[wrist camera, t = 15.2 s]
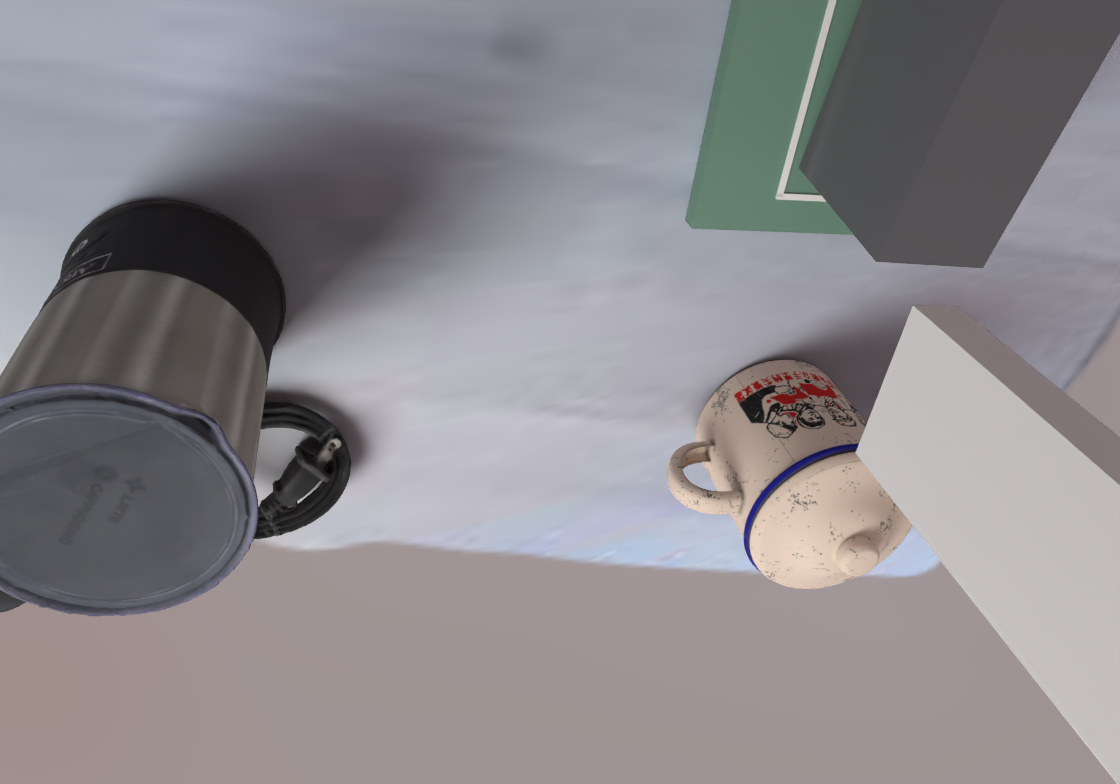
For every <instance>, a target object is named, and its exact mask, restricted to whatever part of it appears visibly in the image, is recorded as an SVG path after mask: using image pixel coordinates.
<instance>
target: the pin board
mask: <svg viewBox="0 0 1120 784" xmlns="http://www.w3.org/2000/svg"><path fill="white" fill-rule="evenodd" d="M862 1H863V0H732V3H731V8H730V12H729V17H728V22H727V26H726V31H725V36H724V41H723V45H722V50H721V55H720V59H719V64H718V69H717V74H716V78H715V83H714V88H713V92H712V97H711V102H710V106H709V111H708V116H707V121H706V125H705V130H704V135H703V139H702V144H701V149H700V154H699V158H698V163H697V168H696V172H695V177H694V182H693V186H692V191H691V196H690V201H689V205H688V210H687V215H686V219H685V220H686V222H687V223H688V224H689V225H690V227H691V228H694V229H720V230H746V231H773V232H799V233H825V234H851V235H854V234H853V233H852V232H851V231H850V229H849V228H848V227H847V226H846V225H845V223H844V222H843V221H842V220H841V219H840V217H839V216H838V215H837V214H836V213H835V211H834V210H833V209H832V208H831V206H830V205H829V204H828V203H827V202H826V200H825V199H824V198H823V197H822V196H821V194H820V193H819V192H818V191H817V190H816V188H815V187H814V186H813V185H812V184H811V182H810V181H809V180H808V179H807V177H806V176H805V175H804V174H803V173H802V171H801V170H800V169H799V165H800V163H801V160H802V157H803V155H804V152H805V150H806V147H807V144H808V142H809V139H810V137H811V134H812V131H813V129H814V126H815V124H816V121H817V118H818V116H819V113H820V111H821V108H822V105H823V103H824V100H825V98H826V95H827V92H828V90H829V87H830V85H831V82H832V79H833V77H834V74H835V72H836V69H837V66H838V64H839V61H840V59H841V56H842V53H843V51H844V48H845V45H846V43H847V40H848V38H849V35H850V32H851V30H852V27H853V25H854V22H855V19H856V17H857V14H858V12H859V9H860V6H861V4H862Z"/></svg>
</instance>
